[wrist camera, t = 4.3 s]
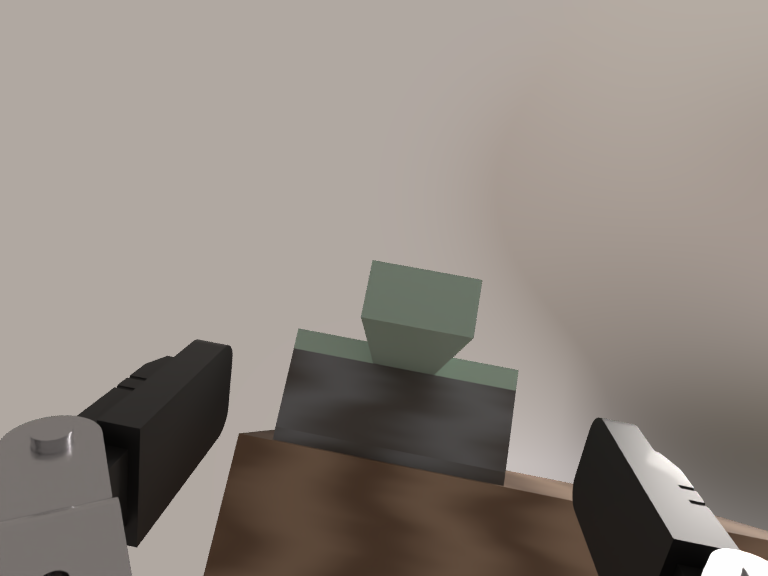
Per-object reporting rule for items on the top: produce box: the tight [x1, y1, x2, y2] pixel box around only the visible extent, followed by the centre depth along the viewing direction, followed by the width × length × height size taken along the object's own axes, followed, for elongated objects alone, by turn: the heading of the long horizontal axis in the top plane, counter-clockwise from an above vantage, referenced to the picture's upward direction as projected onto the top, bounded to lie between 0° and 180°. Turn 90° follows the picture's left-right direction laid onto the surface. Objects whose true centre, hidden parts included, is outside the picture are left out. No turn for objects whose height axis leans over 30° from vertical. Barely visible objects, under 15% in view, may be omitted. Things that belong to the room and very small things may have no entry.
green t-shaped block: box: [294, 260, 518, 391], centre depth 25 cm, size 11×23×3 cm, turn 0°
